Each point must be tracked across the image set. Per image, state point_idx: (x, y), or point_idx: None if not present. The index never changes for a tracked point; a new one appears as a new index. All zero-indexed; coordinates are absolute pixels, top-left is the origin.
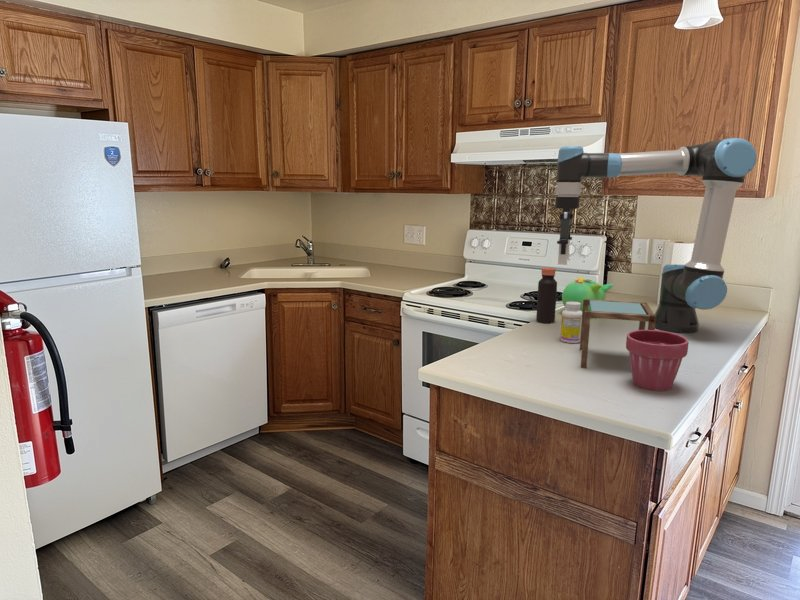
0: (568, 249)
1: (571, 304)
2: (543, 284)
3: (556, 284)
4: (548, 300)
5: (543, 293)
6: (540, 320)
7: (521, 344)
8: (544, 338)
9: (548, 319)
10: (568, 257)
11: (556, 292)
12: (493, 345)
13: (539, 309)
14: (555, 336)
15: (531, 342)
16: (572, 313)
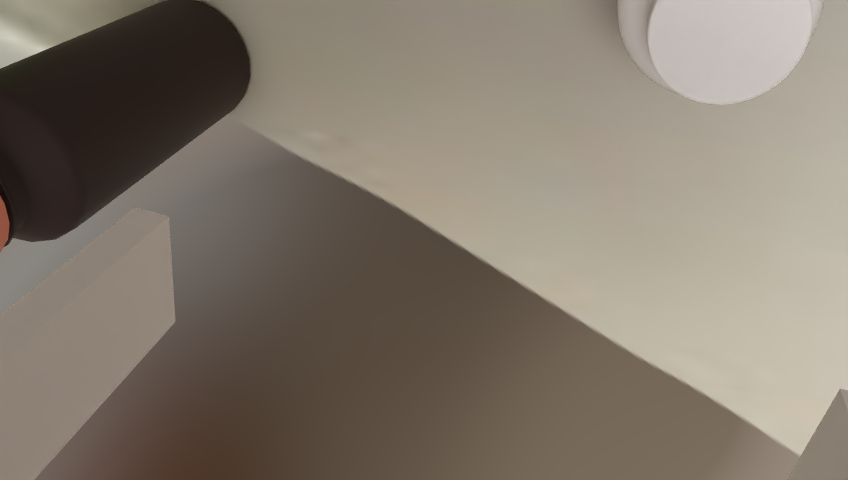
0: (55, 325)
1: (798, 60)
2: (87, 209)
3: (25, 93)
4: (164, 110)
5: (136, 171)
6: (237, 102)
7: (788, 277)
8: (637, 126)
9: (235, 56)
10: (147, 234)
11: (65, 62)
12: (807, 410)
13: (194, 137)
14: (577, 47)
15: (740, 217)
16: (813, 25)
